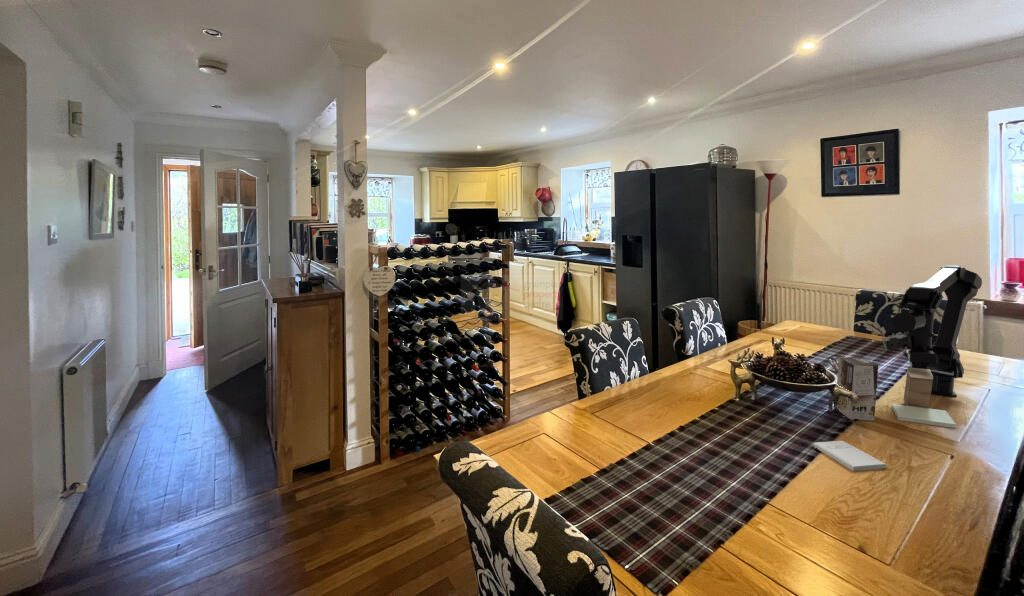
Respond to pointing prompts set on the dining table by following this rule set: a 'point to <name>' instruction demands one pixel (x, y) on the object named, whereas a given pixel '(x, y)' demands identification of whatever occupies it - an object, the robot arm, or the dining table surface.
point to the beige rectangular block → (918, 387)
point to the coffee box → (857, 387)
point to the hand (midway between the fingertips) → (915, 378)
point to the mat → (923, 415)
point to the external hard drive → (849, 455)
